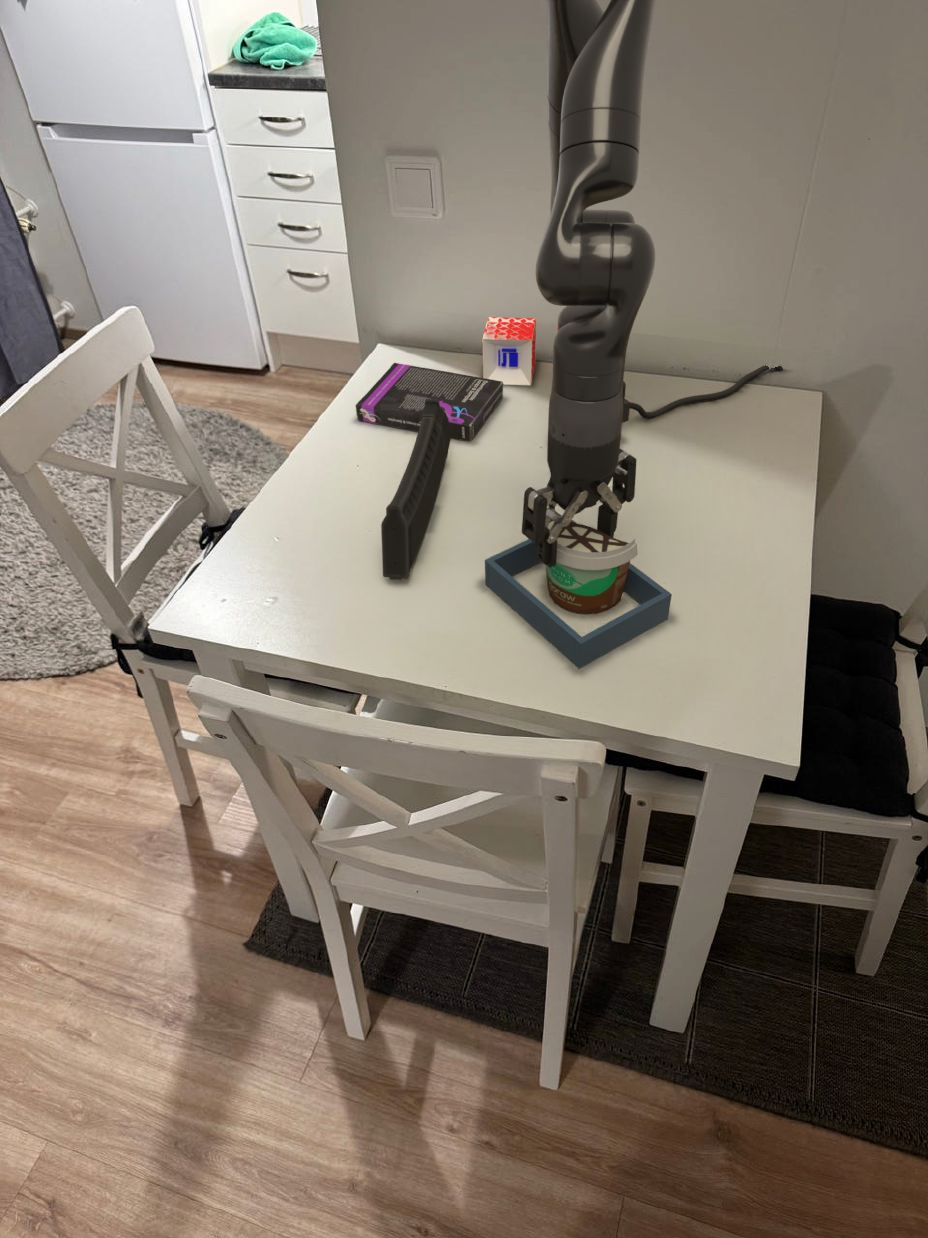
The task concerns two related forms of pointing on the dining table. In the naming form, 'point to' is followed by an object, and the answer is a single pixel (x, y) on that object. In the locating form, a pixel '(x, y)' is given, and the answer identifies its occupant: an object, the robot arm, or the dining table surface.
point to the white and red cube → (509, 350)
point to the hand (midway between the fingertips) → (576, 549)
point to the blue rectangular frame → (556, 629)
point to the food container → (588, 569)
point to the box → (410, 386)
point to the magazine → (415, 494)
